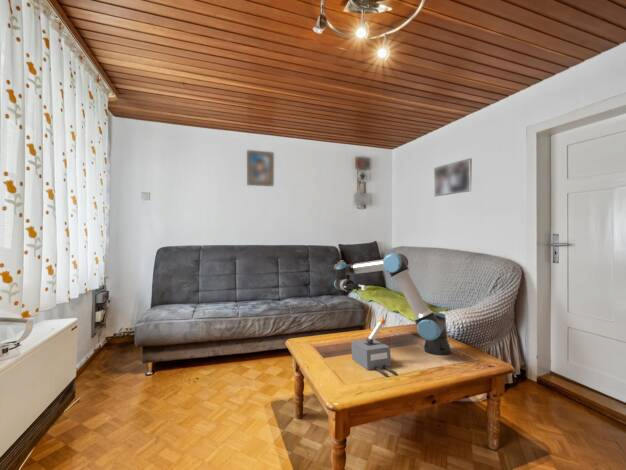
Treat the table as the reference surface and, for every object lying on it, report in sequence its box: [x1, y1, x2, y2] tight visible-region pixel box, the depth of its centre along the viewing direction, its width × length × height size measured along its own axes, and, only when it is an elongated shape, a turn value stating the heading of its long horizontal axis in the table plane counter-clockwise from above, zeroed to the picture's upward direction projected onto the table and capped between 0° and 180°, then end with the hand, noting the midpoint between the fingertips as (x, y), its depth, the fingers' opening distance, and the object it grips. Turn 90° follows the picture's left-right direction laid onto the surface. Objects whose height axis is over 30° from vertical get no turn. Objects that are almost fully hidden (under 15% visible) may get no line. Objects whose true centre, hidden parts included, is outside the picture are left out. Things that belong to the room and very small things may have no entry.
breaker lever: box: [365, 317, 387, 344], centre depth 160 cm, size 4×2×15 cm
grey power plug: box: [350, 339, 398, 377], centre depth 152 cm, size 29×14×10 cm, turn 19°
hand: (365, 288), depth 168 cm, fingers closed
